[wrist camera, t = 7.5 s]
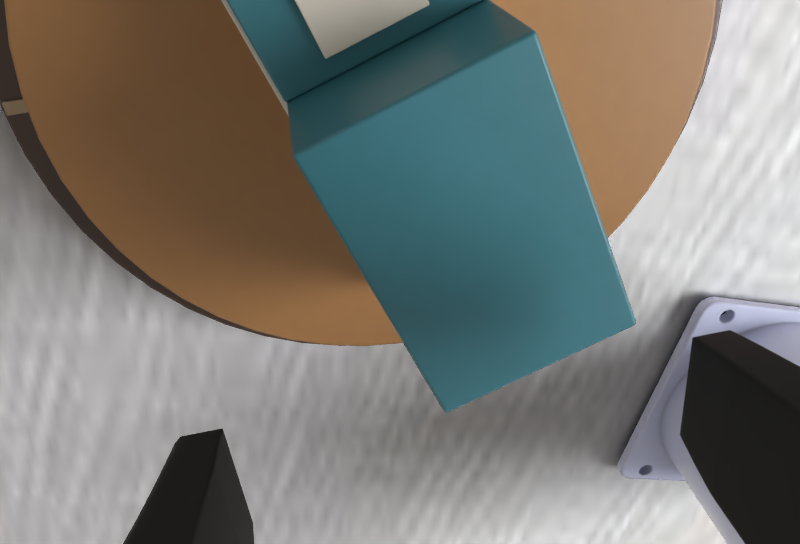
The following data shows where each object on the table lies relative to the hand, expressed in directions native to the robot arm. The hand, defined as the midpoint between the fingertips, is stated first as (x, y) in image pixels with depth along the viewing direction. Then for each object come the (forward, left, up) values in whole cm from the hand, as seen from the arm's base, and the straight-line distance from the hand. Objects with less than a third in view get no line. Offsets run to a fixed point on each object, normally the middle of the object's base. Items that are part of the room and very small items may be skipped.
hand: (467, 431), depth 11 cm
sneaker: (+1, -4, -9) cm, 9 cm away
